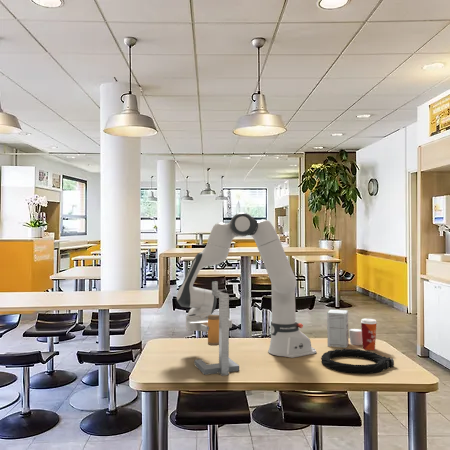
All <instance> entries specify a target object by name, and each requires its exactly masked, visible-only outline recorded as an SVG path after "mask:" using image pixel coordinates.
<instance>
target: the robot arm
mask: <svg viewBox="0 0 450 450" xmlns="http://www.w3.org/2000/svg"><path fill="white" fill-rule="evenodd" d="M247 236H250V237H252V239H253V241H254V242H255V245H256V247H257V250H258V252H259V255H260V258H261V260H262V262H263V265H264V267H265V270H266V272H267V274H268V277H269V280H270V282H271V321H270V334H271V335H270V341H269V342H270V344H269V347H268V352H267V353H269V354H270V355H274V356H278V357H287V358H292V359H293V358H298V357H303V356H309V355H314V354H317V349H316V348H314V347H312V342H311V339H310V338H309V337H308V336H307V335H306V334H305V333H303V332H302V331H301V330H300V329H303V327H304V325H303V324H302V323H299V322H297V321H296V294H295V293H296V291H295V289H296V287H297V277H296V276H295V274H294V271H293V268H292V267H291V264H290V261H289V259H288V257H287V255H286V252H285V249H284V246H283V245H282V242H281V240H280V238H279V235H278V233H277V231H276V229H275V228H274V225H273V224H272V222H271V221H270V220H269V219H260V220H257V219H255V218H254V217H253V216H251V215H250V214H249V213H247V212H238V213H236V214H235V215H233V217H232V218H231V220H230V221H229V222H228V223H227V222H217V223H215V224H214V225H213V226H212V229H211V230H210V233H209V236H208V239H207V242H206V246H205V247H204V248H203V250H201V251H200V252H197V254H196V255H195V257H194V259H193V260H192V263H191V264H190V266H189V269H188V271H187V273H186V275H185V278H184V279H183V282H182V284H181V285H180V286H179V289H178V291H177V294H176V301H177V304H179V306H180V307H182V308H190V309H189V311H188V312H187V315H186V317H185V318H186V319H185V327H186V331H187V332H195V331H196V332H197V331H198V332H202V333H208V330H209V326H208V315H213V313H214V312H215V311H216V307H217V303H218V302H217V301H218V300H217V297H216V296H214V295H212V289H211V290H210V289H206V288H201V287H196V286H194V283H195V281H196V280H197V278H198V275H199V272H200V271H201V270H202V269H203V268H205V267H211V266H215V265H220V264H222V263H224V261H226V260H227V258H228V255H229V253H230V249H231V246H232V245H231V244H232V242H233V239H234V238H235V237H247ZM232 327H233V320H232V319H231V318H229V329H232Z"/></svg>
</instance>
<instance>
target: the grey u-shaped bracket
mask: <svg viewBox="0 0 450 450" xmlns="http://www.w3.org/2000/svg"><path fill="white" fill-rule="evenodd" d="M194 366H195V367H196V368H198V370H199V371H200V372H201V373H202V374H203V375H213V374H219V362H218V363H209V364H207V363H206V362H205V361H204V360H203V359H202V358H201V359H194ZM239 371H240V365H239V364H238V363H236V362H235V361H234V360H232V359H231V358H230V357H229V373H230V372H239Z"/></svg>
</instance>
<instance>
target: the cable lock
mask: <svg viewBox="0 0 450 450" xmlns="http://www.w3.org/2000/svg"><path fill="white" fill-rule="evenodd" d="M345 357H346V358H350V357H351V358H358V359H366V360H370V361H373V362H376V363H371V364H369V363H368V364H352V363H345V362H340V361H336V360H333V359H335V358H345ZM320 360H321V361H320V362H321V363H322V364H323V366H325V367H326V368H329V370H335V371H336V372H340V373H341V372H342V373H347V374H359V375H361V374H362V375H363V374H376V373H379V372H383V371H384V370H386V369H388V368H389V367H390V368H394V366H395V360H394V358H391V357H386V356H383V355H381V354H378V353H377V352H372V351H371V350H365V349H354V348H353V349H352V348H350V349H349V348H339V349H338V348H337V349H332V350H328V351H326V352H324V353H323V354H322V355H321V357H320ZM390 368H389V369H390Z"/></svg>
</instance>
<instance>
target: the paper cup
mask: <svg viewBox="0 0 450 450" xmlns="http://www.w3.org/2000/svg"><path fill="white" fill-rule="evenodd" d="M360 323H361V324H360V326H361V329H362V350H364V351H375V349H376V338H377V324H378V321H377V320H376V319H375V318H365V317H364V318H361V320H360Z"/></svg>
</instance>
